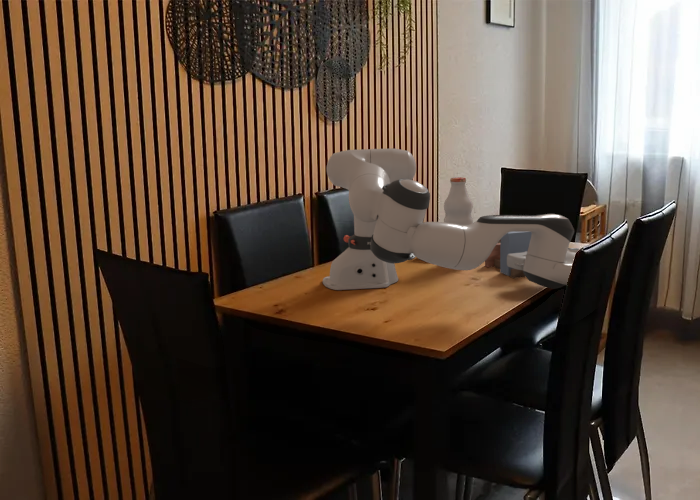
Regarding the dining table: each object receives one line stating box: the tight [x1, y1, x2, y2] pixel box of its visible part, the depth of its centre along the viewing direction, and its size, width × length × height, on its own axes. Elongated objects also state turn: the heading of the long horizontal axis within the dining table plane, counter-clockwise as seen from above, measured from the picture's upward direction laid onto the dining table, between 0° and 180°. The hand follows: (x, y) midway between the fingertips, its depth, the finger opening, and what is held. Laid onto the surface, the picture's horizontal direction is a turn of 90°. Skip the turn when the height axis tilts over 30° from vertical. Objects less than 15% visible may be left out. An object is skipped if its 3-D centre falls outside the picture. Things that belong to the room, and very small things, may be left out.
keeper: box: [499, 232, 532, 277], centre depth 211 cm, size 8×5×13 cm, turn 106°
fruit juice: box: [443, 176, 474, 225], centre depth 225 cm, size 9×9×28 cm
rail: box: [484, 243, 526, 279], centre depth 216 cm, size 7×18×7 cm, turn 16°
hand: (528, 253), depth 204 cm, fingers closed
